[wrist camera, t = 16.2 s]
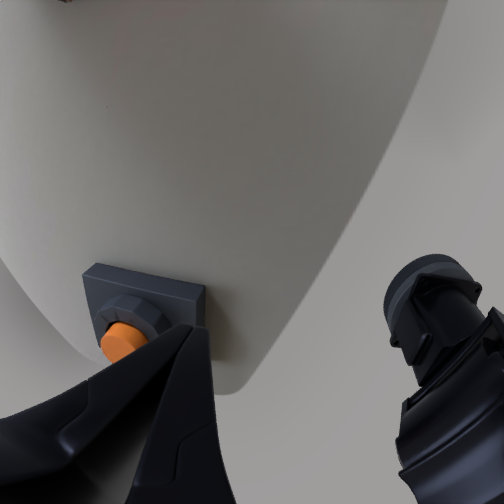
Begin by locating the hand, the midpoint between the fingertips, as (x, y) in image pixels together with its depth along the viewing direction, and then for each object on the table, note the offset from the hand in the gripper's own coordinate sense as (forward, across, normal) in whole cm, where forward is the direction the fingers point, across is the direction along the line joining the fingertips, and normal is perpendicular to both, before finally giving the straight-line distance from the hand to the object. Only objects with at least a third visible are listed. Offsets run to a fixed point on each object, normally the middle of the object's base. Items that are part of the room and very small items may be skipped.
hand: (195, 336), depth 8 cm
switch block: (+12, +8, +10) cm, 18 cm away
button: (+8, +8, +10) cm, 15 cm away
